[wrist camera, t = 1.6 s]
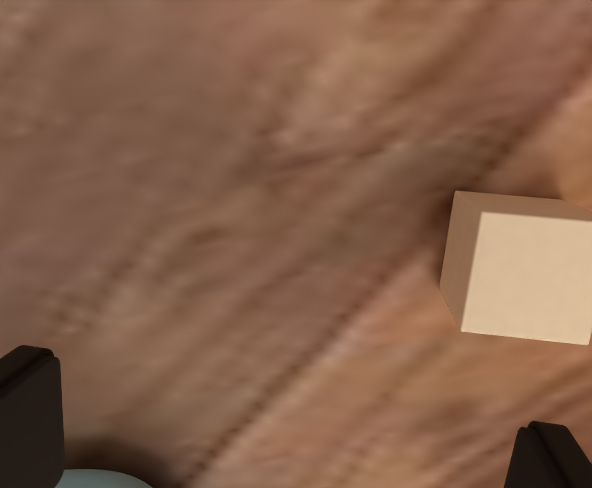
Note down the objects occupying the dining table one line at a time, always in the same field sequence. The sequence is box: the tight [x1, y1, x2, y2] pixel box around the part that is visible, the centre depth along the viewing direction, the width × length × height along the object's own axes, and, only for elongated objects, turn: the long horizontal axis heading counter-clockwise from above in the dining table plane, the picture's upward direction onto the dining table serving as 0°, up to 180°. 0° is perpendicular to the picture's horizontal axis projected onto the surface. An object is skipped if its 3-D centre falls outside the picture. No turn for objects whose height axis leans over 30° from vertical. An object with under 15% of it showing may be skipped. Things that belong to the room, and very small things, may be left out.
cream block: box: [439, 191, 592, 345], centre depth 21 cm, size 5×5×5 cm
